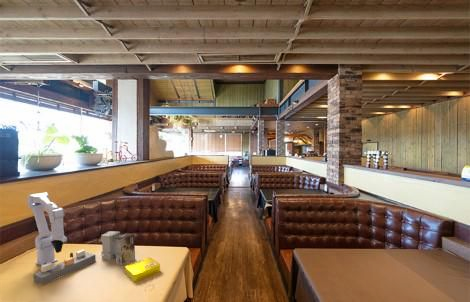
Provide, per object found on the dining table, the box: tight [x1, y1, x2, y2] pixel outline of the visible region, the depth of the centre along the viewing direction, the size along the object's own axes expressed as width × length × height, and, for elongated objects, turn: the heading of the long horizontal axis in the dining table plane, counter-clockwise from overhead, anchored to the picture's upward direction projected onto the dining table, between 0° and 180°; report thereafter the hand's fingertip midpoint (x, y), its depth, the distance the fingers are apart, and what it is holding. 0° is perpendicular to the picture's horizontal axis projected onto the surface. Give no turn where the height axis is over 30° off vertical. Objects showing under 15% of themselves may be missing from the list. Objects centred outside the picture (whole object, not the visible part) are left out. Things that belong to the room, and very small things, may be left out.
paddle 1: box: [40, 263, 53, 272], centre depth 129 cm, size 2×4×3 cm, turn 154°
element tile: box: [124, 256, 161, 283], centre depth 131 cm, size 15×15×5 cm
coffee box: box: [115, 232, 136, 267], centre depth 145 cm, size 9×6×16 cm
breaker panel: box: [33, 251, 97, 286], centre depth 136 cm, size 9×28×4 cm, turn 154°
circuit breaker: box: [100, 230, 121, 260], centre depth 152 cm, size 8×14×15 cm, turn 78°
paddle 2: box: [75, 249, 86, 258], centre depth 145 cm, size 2×4×3 cm, turn 154°
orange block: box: [63, 256, 74, 266], centre depth 135 cm, size 2×4×3 cm, turn 154°
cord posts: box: [43, 252, 74, 265], centre depth 139 cm, size 2×16×5 cm, turn 154°
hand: (58, 252), depth 139 cm, fingers closed
